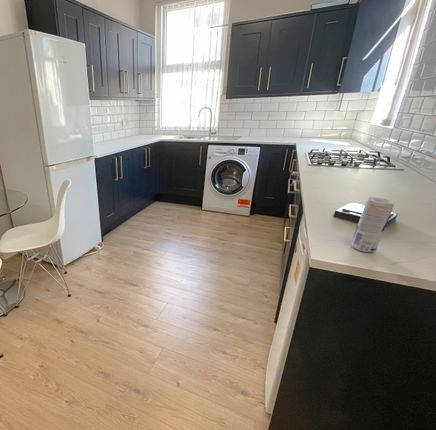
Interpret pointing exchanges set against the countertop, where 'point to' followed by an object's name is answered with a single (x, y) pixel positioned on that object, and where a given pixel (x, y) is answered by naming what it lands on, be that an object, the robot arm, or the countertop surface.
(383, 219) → the beverage can
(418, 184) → the countertop surface
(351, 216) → the scale
